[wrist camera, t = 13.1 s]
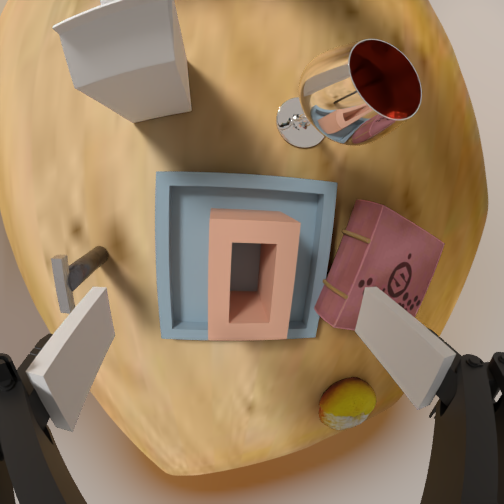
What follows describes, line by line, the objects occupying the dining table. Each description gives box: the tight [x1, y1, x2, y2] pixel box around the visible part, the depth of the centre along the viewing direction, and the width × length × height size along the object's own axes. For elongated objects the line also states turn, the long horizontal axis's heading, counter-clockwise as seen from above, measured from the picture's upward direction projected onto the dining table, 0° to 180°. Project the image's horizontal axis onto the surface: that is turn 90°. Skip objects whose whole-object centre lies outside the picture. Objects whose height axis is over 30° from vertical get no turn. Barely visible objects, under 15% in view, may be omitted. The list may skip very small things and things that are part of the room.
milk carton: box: [53, 0, 192, 123], centre depth 18 cm, size 7×7×19 cm
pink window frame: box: [208, 208, 301, 340], centre depth 29 cm, size 14×8×8 cm, turn 176°
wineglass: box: [276, 39, 422, 148], centre depth 21 cm, size 8×8×18 cm
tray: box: [155, 172, 337, 340], centre depth 32 cm, size 20×20×2 cm
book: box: [314, 200, 445, 330], centre depth 32 cm, size 14×15×5 cm
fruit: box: [319, 377, 376, 430], centre depth 40 cm, size 11×10×8 cm
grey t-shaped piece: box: [51, 246, 108, 314], centre depth 26 cm, size 5×2×11 cm, turn 176°
